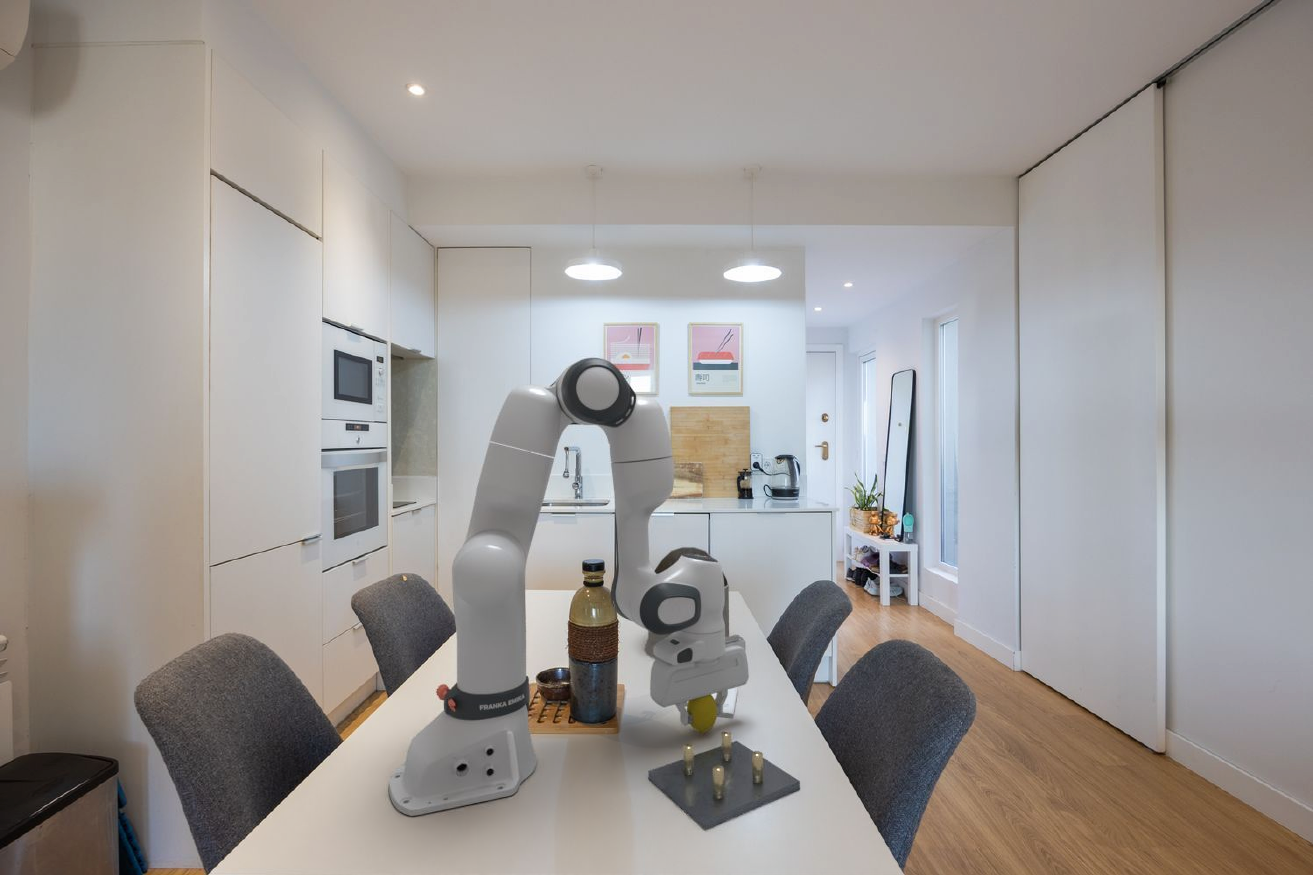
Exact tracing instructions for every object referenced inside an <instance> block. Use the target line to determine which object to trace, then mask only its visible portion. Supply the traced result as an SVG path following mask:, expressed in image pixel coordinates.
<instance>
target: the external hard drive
mask: <svg viewBox="0 0 1313 875" xmlns="http://www.w3.org/2000/svg"><path fill="white" fill-rule="evenodd" d="M738 692H739V690H738V687H735V688H732V689H728V695H727V698H726V700H725V702H724V704H723V714H720V715H717V718H727V719H728V718H729V719H734V716H735V713H736V712H735V710H736V706H737V705H736V704H737V700H738V695H739V693H738ZM711 695H712V696H713V698H714V700H715V698H716V695H717V693H714V694H711Z"/></svg>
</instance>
